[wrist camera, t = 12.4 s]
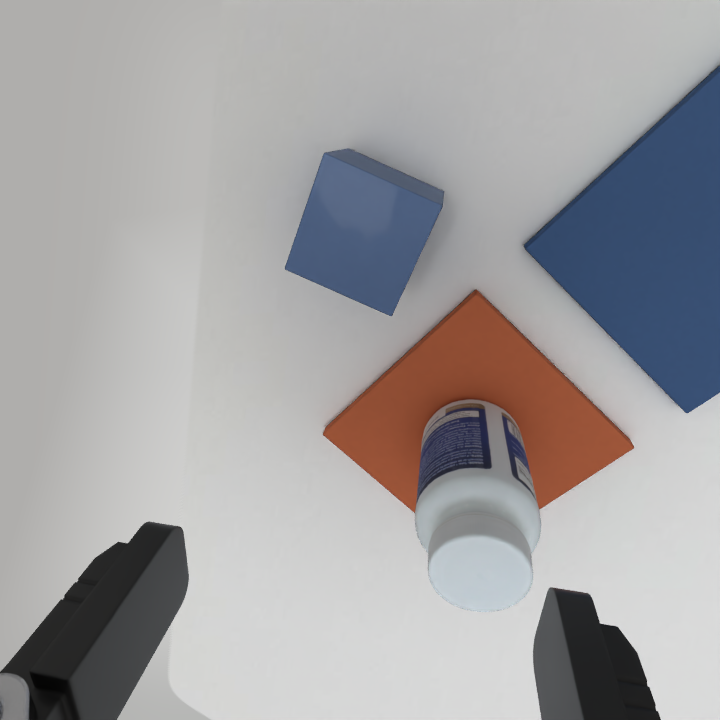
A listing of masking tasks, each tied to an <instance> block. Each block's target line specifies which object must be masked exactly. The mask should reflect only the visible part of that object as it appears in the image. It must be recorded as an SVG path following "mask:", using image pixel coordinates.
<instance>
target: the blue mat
mask: <svg viewBox="0 0 720 720" xmlns="http://www.w3.org/2000/svg"><path fill="white" fill-rule="evenodd" d="M524 247H525V249H526V250H527V251H528V252H529V253H530V254H531V255H532V256H533V257H534V259H535V260H536V261H537V262H538V263H539V264H540V265H541V266H542V267H543V268H544V269H545V270H546V271H547V272H548V273H549V274H550V275H551V276H552V277H553V278H554V279H555V280H556V281H557V282H558V283H559V284H560V285H561V286H562V287H563V288H564V289H565V290H566V291H567V292H568V293H569V294H570V295H571V296H572V297H573V298H574V299H575V300H576V301H577V302H578V303H579V304H580V305H581V306H582V307H583V308H584V310H585V311H586V312H587V313H588V314H589V315H590V316H591V317H592V318H593V319H594V320H595V321H596V322H597V323H598V324H599V325H600V326H601V327H602V328H603V329H604V330H605V331H606V332H607V333H608V334H609V335H610V336H611V337H612V338H613V339H614V340H615V341H616V342H617V343H618V344H619V345H620V346H621V347H622V348H623V349H624V350H625V351H626V352H627V353H628V354H629V355H630V356H631V357H632V358H633V359H634V361H635V362H636V363H637V364H638V365H639V366H640V367H641V368H642V369H643V370H644V371H645V372H646V373H647V374H648V375H649V376H650V377H651V378H652V379H653V380H654V381H655V382H656V383H657V384H658V385H659V386H660V387H661V388H662V389H663V390H664V391H665V392H666V393H667V394H668V395H669V396H670V397H671V398H672V399H673V400H674V401H675V402H676V403H677V404H678V405H679V406H680V407H681V408H682V409H683V411H684V412H685V413H689V412H690V411H692V410H694V409H695V408H697V407H698V406H700V405H701V404H703V403H704V402H706V401H707V400H709V399H711V398H712V397H714V396H715V395H717V394H718V393H720V66H718V67H717V68H716V69H715V70H714V71H713V72H712V73H711V74H710V75H709V76H708V77H706V78H705V79H704V80H703V81H702V82H701V83H700V84H699V85H698V86H697V87H696V88H695V89H693V90H692V91H691V92H690V93H689V94H688V95H687V96H686V97H685V98H684V99H683V100H681V101H680V102H679V103H678V104H677V105H676V106H675V107H674V108H673V109H672V110H671V111H669V112H668V113H667V114H666V115H665V116H664V117H663V118H662V119H661V120H660V121H659V122H658V123H656V124H655V125H654V126H653V127H652V128H651V129H650V130H649V131H648V132H647V133H646V134H644V135H643V136H642V137H641V138H640V139H639V140H638V141H637V142H636V143H635V144H634V145H632V146H631V147H630V148H629V149H628V150H627V151H626V152H625V153H624V154H623V155H622V156H621V157H619V158H618V159H617V160H616V161H615V162H614V163H613V164H612V165H611V166H610V167H609V168H607V169H606V170H605V171H604V172H603V173H602V174H601V175H600V176H599V177H598V178H597V179H595V180H594V181H593V182H592V183H591V184H590V185H589V186H588V187H587V188H586V189H585V190H583V191H582V192H581V193H580V194H579V195H578V196H577V197H576V198H575V199H574V200H573V201H572V202H570V203H569V204H568V205H567V206H566V207H565V208H564V209H563V210H562V211H561V212H560V213H558V214H557V215H556V216H555V217H554V218H553V219H552V220H551V221H550V222H549V223H548V224H546V225H545V226H544V227H543V228H542V229H541V230H540V231H539V232H538V233H537V234H536V235H535V236H533V237H532V238H531V239H530V240H529V241H528V242H527V243H526V244H525V245H524Z"/></svg>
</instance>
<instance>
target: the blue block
mask: <svg viewBox="0 0 720 720" xmlns="http://www.w3.org/2000/svg"><path fill="white" fill-rule="evenodd" d="M443 197H444V191H442V190H440V189H438V188H436V187H433V186H431V185H429V184H427V183H425V182H422V181H420V180H418V179H416V178H413V177H411V176H409V175H407V174H404V173H402V172H400V171H398V170H395V169H393V168H391V167H389V166H387V165H384V164H382V163H380V162H378V161H375V160H373V159H371V158H369V157H366V156H364V155H362V154H360V153H357V152H355V151H353V150H351V149H343V150H337V151H332V152H327V153H324V155H323V157H322V160H321V163H320V166H319V169H318V172H317V175H316V178H315V181H314V184H313V187H312V190H311V193H310V196H309V199H308V201H307V204H306V207H305V210H304V213H303V216H302V219H301V222H300V225H299V228H298V231H297V234H296V237H295V240H294V243H293V245H292V248H291V251H290V254H289V257H288V260H287V263H286V266H285V270H288V271H290V272H292V273H294V274H297V275H299V276H301V277H303V278H306V279H308V280H310V281H312V282H315V283H317V284H319V285H321V286H324V287H326V288H328V289H331V290H333V291H335V292H337V293H340V294H342V295H344V296H346V297H349V298H351V299H353V300H355V301H358V302H360V303H362V304H364V305H367V306H369V307H371V308H374V309H376V310H378V311H380V312H383V313H385V314H387V315H389V316H392V315H393V313H394V310H395V308H396V306H397V304H398V302H399V300H400V297H401V295H402V293H403V291H404V289H405V287H406V284H407V282H408V280H409V278H410V276H411V274H412V271H413V269H414V267H415V265H416V263H417V261H418V258H419V256H420V254H421V252H422V250H423V248H424V245H425V243H426V241H427V239H428V237H429V235H430V232H431V230H432V228H433V226H434V224H435V222H436V219H437V217H438V215H439V213H440V211H441V209H442V206H443Z"/></svg>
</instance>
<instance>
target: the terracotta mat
mask: <svg viewBox="0 0 720 720" xmlns="http://www.w3.org/2000/svg"><path fill="white" fill-rule="evenodd" d="M467 399H474V400H481V401H486V402H489V403H492V404H494V405H497V406H498V407H500V408H502V409H504V410H505V411H506V412H507V413H508V414H510V415H511V417H512V418H513V419H514V420H515V422H516V424H517V425H518V427H519V430H520V433H521V436H522V439H523V443H524V447H525V452H526V456H527V460H528V465H529V469H530V473H531V477H532V481H533V486H534V490H535V494H536V499H537V503H538V507H539V509H541V508H542V507H544V506H545V505H547V504H548V503H550V502H552V501H553V500H555V499H556V498H558V497H559V496H561V495H562V494H564V493H565V492H567V491H569V490H570V489H572V488H573V487H575V486H576V485H578V484H579V483H581V482H582V481H584V480H586V479H587V478H589V477H590V476H592V475H593V474H595V473H596V472H598V471H599V470H601V469H603V468H604V467H606V466H607V465H609V464H610V463H612V462H613V461H615V460H616V459H618V458H619V457H621V456H623V455H624V454H626V453H627V452H629V451H630V450H632V449H633V448H634V446H633V444H632V442H631V441H630V439H629V438H628V437H627V436H626V435H625V434H624V433H623V432H622V431H621V430H620V429H619V428H618V427H617V426H616V425H615V424H613V423H612V422H611V421H610V420H609V419H608V418H607V417H606V416H605V415H604V414H603V413H602V412H601V411H600V410H599V409H598V408H597V407H596V406H595V405H594V404H593V403H592V402H591V401H590V400H589V399H588V398H587V397H586V396H585V395H584V394H583V393H582V392H581V391H580V390H579V389H578V388H577V387H576V386H575V385H574V384H573V383H572V382H571V381H570V380H569V379H568V378H566V377H565V376H564V375H563V374H562V373H561V372H560V371H559V370H558V369H557V368H556V367H555V366H554V365H553V364H552V363H551V362H550V361H549V360H548V359H547V358H546V357H545V356H544V355H543V354H542V353H541V352H540V351H539V350H538V349H537V348H536V347H535V346H534V345H533V344H532V343H531V342H530V341H529V340H528V339H527V338H526V337H525V336H524V335H523V334H522V333H521V332H520V331H518V330H517V329H516V328H515V327H514V326H513V325H512V324H511V323H510V322H509V321H508V320H507V319H506V318H505V317H504V316H503V315H502V314H501V313H500V312H499V311H498V310H497V309H496V308H495V307H494V306H493V305H492V304H491V303H490V302H489V301H488V300H487V299H486V298H485V297H484V296H483V295H482V294H481V293H480V292H479V291H478V290H475V291H474V292H472V293H471V294H470V295H469V296H468V297H467V298H466V299H465V300H464V301H463V302H462V303H460V304H459V305H458V306H457V307H456V308H455V309H454V310H453V311H452V312H451V313H450V314H449V315H447V316H446V317H445V318H444V319H443V320H442V321H441V322H440V323H439V324H438V325H437V326H435V327H434V328H433V329H432V330H431V331H430V332H429V333H428V334H427V335H426V336H425V337H423V338H422V339H421V340H420V341H419V342H418V343H417V344H416V345H415V346H414V347H413V348H411V349H410V350H409V351H408V352H407V353H406V354H405V355H404V356H403V357H402V358H401V359H400V360H398V361H397V362H396V363H395V364H394V365H393V366H392V367H391V368H390V369H389V370H388V371H386V372H385V373H384V374H383V375H382V376H381V377H380V378H379V379H378V380H377V381H376V382H374V383H373V384H372V385H371V386H370V387H369V388H368V389H367V390H366V391H365V392H364V393H363V394H361V395H360V396H359V397H358V398H357V399H356V400H355V401H354V402H353V403H352V404H351V405H349V406H348V407H347V408H346V409H345V410H344V411H343V412H342V413H341V414H340V415H339V416H337V417H336V418H335V419H334V420H333V421H332V422H331V423H330V424H329V425H328V426H327V427H326V428H325V430H324V432H323V435H324V436H325V437H326V438H327V439H329V440H330V441H331V442H332V443H333V444H335V445H336V446H337V447H338V448H339V449H340V450H342V451H343V452H344V453H345V454H346V455H347V456H349V457H350V458H351V459H352V460H353V461H354V462H356V463H357V464H358V465H359V466H360V467H361V468H363V469H364V470H365V471H366V472H367V473H369V474H370V475H371V476H372V477H373V478H374V479H376V480H377V481H378V482H379V483H380V484H381V485H383V486H384V487H385V488H386V489H387V490H388V491H390V492H391V493H392V494H393V495H394V496H395V497H397V498H398V499H399V500H400V501H401V502H403V503H404V504H405V505H406V506H407V507H408V508H410V509H411V510H412V511H413V512H414V513H415V509H416V500H417V489H418V479H419V468H420V457H421V445H422V438H423V433H424V429H425V427H426V425H427V423H428V421H429V420H430V418H431V417H432V416H433V415H434V414H435V413H436V412H437V411H438V410H439V409H440V408H442V407H444V406H446V405H448V404H450V403H452V402H456V401H461V400H467Z"/></svg>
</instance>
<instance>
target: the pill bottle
mask: <svg viewBox="0 0 720 720" xmlns="http://www.w3.org/2000/svg"><path fill="white" fill-rule="evenodd" d="M415 526H416V531H417V535H418V538H419V540H420V542H421V544H422V546H423V547H424V549H425V550H426V551H427V553H428V573H429V578H430V582H431V584H432V586H433V588H434V589H435V590H436V592H437V593H438V594H439V595H440V596H441V597H442V598H443V599H445V600H446V601H448V602H449V603H451V604H453V605H455V606H457V607H459V608H462V609H466V610H470V611H477V612H492V611H499V610H502V609H505V608H509V607H510V606H512V605H515V604H516V603H518V602H519V601H520V600H522V599H523V598H524V597H525V596H526V594H527V593H528V592H529V590H530V588H531V585H532V581H533V569H532V560H531V554H532V552H533V551H534V549H535V547H536V546H537V543H538V541H539V537H540V532H541V519H540V511H539V507H538V503H537V499H536V494H535V490H534V486H533V481H532V477H531V473H530V469H529V465H528V460H527V456H526V452H525V447H524V443H523V439H522V436H521V433H520V430H519V427H518V425H517V424H516V422H515V420H514V419H513V418H512V417H511V415H510V414H508V413H507V412H506V411H505V410H504V409H502V408H500V407H498V406H497V405H494V404H492V403H489V402H486V401H481V400H474V399H467V400H461V401H456V402H452V403H450V404H448V405H446V406H444V407H442V408H440V409H439V410H438V411H437V412H436V413H435V414H434V415H433V416H432V417H431V418H430V420H429V421H428V423H427V425H426V427H425V429H424V433H423V438H422V445H421V457H420V468H419V479H418V489H417V500H416V509H415Z"/></svg>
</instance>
